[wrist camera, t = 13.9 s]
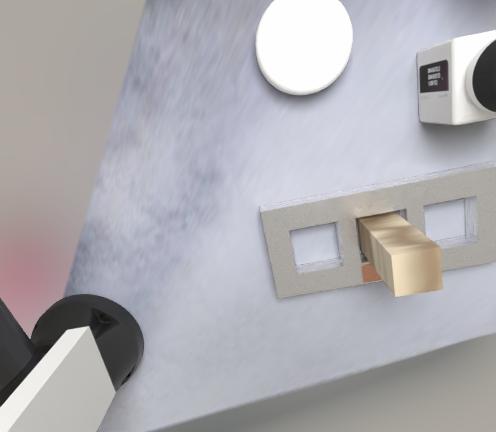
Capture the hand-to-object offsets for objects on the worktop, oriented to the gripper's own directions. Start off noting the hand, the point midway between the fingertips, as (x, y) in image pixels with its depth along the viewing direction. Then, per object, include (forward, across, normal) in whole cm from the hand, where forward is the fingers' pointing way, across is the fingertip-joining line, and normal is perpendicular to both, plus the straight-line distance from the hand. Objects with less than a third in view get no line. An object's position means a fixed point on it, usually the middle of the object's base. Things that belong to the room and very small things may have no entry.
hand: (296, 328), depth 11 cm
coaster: (+33, +6, +12) cm, 36 cm away
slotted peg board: (+33, +12, -11) cm, 37 cm away
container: (+33, +22, +5) cm, 40 cm away
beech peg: (+33, +12, -11) cm, 37 cm away
